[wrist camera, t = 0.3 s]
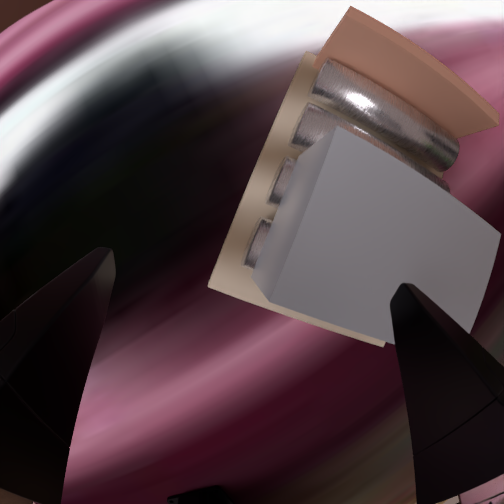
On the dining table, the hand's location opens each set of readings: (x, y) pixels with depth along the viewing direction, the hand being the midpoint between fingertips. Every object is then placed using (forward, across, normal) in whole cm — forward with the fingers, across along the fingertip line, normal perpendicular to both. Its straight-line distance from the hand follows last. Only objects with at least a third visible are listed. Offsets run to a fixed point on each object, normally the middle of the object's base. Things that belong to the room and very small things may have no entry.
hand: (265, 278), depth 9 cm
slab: (+9, -8, +5) cm, 13 cm away
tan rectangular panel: (+20, -11, -4) cm, 23 cm away
